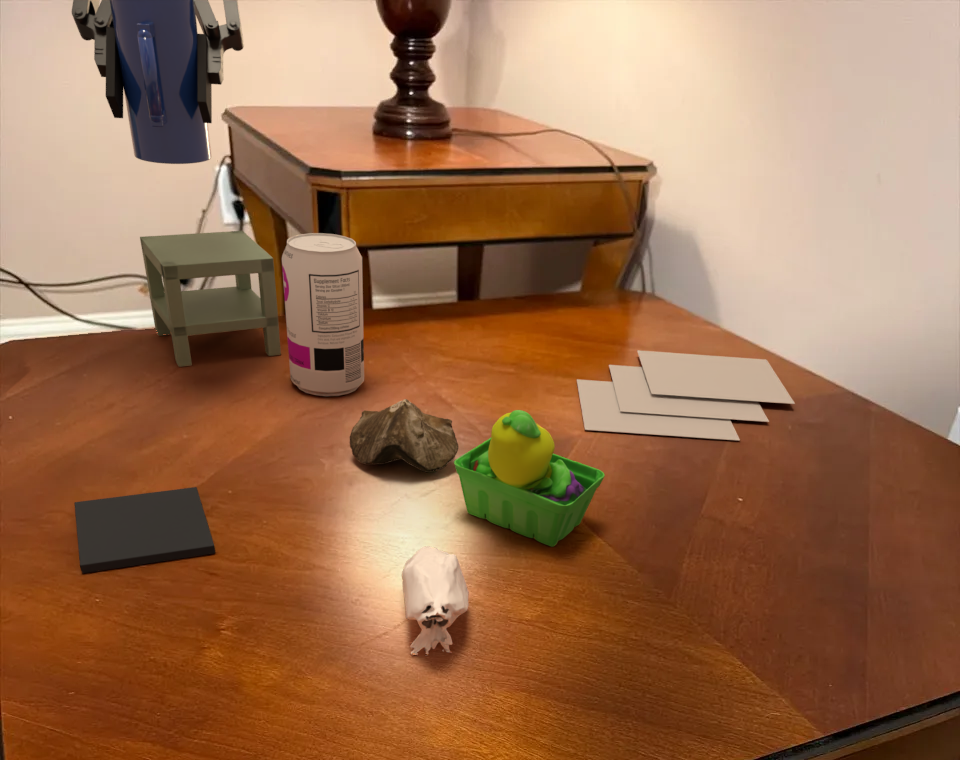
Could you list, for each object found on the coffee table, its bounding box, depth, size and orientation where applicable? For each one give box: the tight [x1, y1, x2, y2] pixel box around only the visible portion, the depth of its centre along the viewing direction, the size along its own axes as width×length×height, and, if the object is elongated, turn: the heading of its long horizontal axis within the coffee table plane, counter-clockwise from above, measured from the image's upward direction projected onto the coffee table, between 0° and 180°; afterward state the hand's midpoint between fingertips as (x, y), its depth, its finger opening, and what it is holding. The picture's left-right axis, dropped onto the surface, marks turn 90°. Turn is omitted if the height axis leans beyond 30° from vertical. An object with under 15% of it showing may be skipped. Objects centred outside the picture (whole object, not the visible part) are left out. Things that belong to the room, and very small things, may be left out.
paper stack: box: [576, 349, 796, 441], centre depth 101 cm, size 23×25×1 cm
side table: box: [139, 230, 282, 368], centre depth 102 cm, size 12×12×11 cm
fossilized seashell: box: [349, 398, 459, 473], centre depth 83 cm, size 8×7×10 cm
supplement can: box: [281, 232, 365, 397], centre depth 93 cm, size 8×8×15 cm
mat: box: [73, 486, 216, 574], centre depth 71 cm, size 10×10×1 cm
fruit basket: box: [453, 409, 606, 548], centre depth 73 cm, size 11×9×11 cm
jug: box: [110, 0, 212, 165], centre depth 77 cm, size 10×7×13 cm
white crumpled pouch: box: [401, 545, 470, 656], centre depth 63 cm, size 5×7×10 cm
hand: (159, 109), depth 77 cm, fingers closed on jug, 7 cm apart
